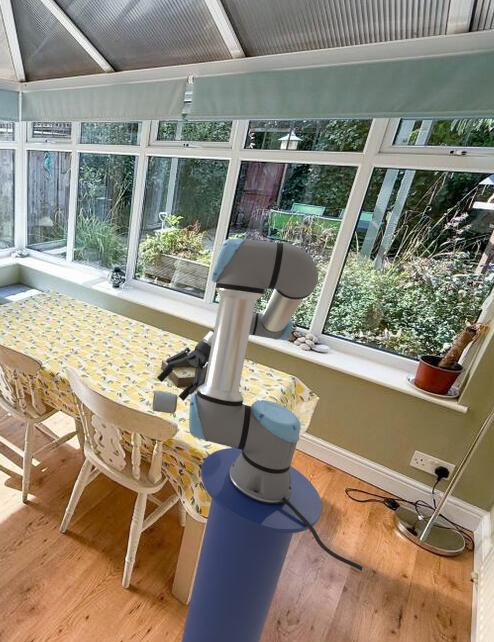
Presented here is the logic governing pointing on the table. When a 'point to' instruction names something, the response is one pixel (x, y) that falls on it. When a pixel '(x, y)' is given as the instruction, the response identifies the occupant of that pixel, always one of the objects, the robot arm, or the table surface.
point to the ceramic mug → (164, 402)
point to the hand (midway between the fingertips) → (169, 389)
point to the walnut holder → (176, 378)
